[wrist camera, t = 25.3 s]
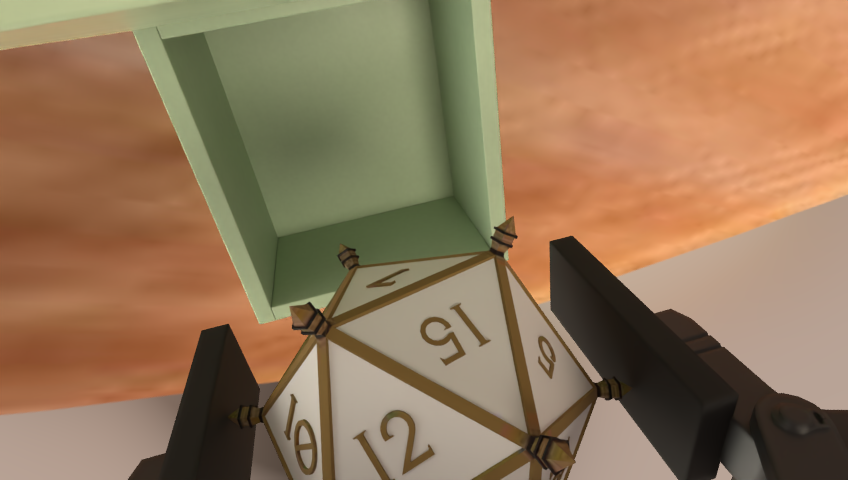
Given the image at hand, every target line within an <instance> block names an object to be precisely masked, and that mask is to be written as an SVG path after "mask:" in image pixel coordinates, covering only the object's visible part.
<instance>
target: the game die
mask: <svg viewBox="0 0 848 480" xmlns="http://www.w3.org/2000/svg"><path fill="white" fill-rule="evenodd" d="M494 229H495V232H494V235H493V236H491V237H490V239H492V244H491V248H490V249H489V250H488V251H480V252H471V253H463V254H454V255H446V256H437V257H429V258H420V259H412V260H403V261H395V262H386V263H377V264H369V265H359V262H358V259H359V255H356V253H355V251H356V249H353V248H349V247H347V246H345V245H343V244H341V243H340V248H339V254H338V255H337V257H338V258H339V260H340V262H341V261H342V262H341V263H342V265H343V267H344V268H347V269H348V270H349V272H348V273H347V275H346V276H345V278H344V280H343V281H342V283H341V284H340V286H339V288H338V289H337V291H336V292H335V294H334V296H333V297H332V299H331V300H330V302H329V304H328V305H327V307H326V308H325V310H324V312H323V313H321V311H320V310H319V309H318V308H317V309H316V308H315V307H314V306H313V305H312V303H311V302H310V301H309V302H308V303H306V304H304V305H295V306H289V308H290V312H291V316H292V321H293V324H292V329H293V330H301V334H302V335H308V337H307V339H306V340H305V342H304V343H303V345H302V347H301V348H300V350H299V351H298V353H297V354H296V356H295V358H294V359H293V361H292V362H291V364H290V366H289V367H288V369H287V370H286V372H285V374H284V375H283V377H282V378H281V380H280V382H279V383H278V385H277V386H276V388H275V390H274V391H273V393H272V394H271V396H270V398H269V399H268V401H267V402H266V404H265V405H264V407H262V408H257V406H255V405H249V407H248V406H245V405H240V408H238V409H237V410H236V411H234V412H233V413H232V414H230V415H229V416H228V418H229V419H230V420H232V421H233V422H235V423H236V424H238V425H239V426H240V428H241V429H243V428H244V426H250V428H253V426H254V425H255V424H257V423H260V422H262V423H264V425H265V427H266V429H267V431H268V433H269V436H270V438H271V441H272V443H273V445H274V447H275V449H276V452H277V454H278V456H279V459H280V461H281V463H282V466H283V468H284V470H285V472H286V475H287V477H288V479H289V480H567V478H568V476H569V473H570V470H571V468H572V465H573V464H574V463H575V460H574V459H575V457H576V454H577V451H578V449H579V446H580V443H581V440H582V438H583V435H584V432H585V429H586V427H587V424H588V421H589V419H590V416H591V413H592V410H593V408H594V405H595V403H596V400H597V397H601V398H605V400H611V399H612V398H615V400H620V399H622V396H623V395H625V394H626V393H627V392H629V391H630V390H631V389H632V387H630V386H628V385H626V384H624V383H622V382H621V381H619V380H617V379H616V377H615V376H614V377H612V379H608V380H607V379H606V378H603V381H600V382H598V383H594V382H592V380H591V379H590V377H589V376H588V375H587V373H586V372H585V370H584V369H583V368H582V366H581V365H580V363H579V362H578V361H577V359H576V358H575V356H574V355H573V354H572V352H571V351H570V349H569V348H568V346H567V345H566V344H565V342H564V341H563V339H562V338H561V337H560V335H559V334H558V333H557V331H556V330H555V328H554V327H553V325H552V324H551V323H550V321H549V320H548V318H547V317H546V316H545V314H544V313H543V311H542V310H541V309H540V307H539V306H538V304H537V303H536V302H535V300H534V299H533V297H532V296H531V295H530V293H529V292H528V290H527V289H526V288H525V286H524V285H523V283H522V282H521V280H520V279H519V278H518V276H517V275H516V273H515V272H514V271H513V269H512V268H511V266H510V265H509V264H508V262H507V261H506V259H505V258H504V253H505V252H506V251H507V250H508V249H509V248H512V247H513V245H512V242H513V240H514V238H516V239H517V237H518V236H517V235H516V234H515V225H514V216H513V217H511V218H510V219H508V220H507V221H505V222H504V223H502V224H501V225H499V226H498V227H495V226H494Z"/></svg>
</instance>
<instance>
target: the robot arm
mask: <svg viewBox="0 0 848 480" xmlns="http://www.w3.org/2000/svg"><path fill="white" fill-rule="evenodd" d="M550 299H551V311H552V312H553V313H554V314H555V316H556V317H557V318H558V320H559V321H560V323H561V324H562V325H563V327H564V328H565V329H566V331H567V332H568V333H569V334H570V336H571V337H572V338H573V340H574V341H575V342H576V344H577V345H578V346H579V348H580V349H581V350H582V352H583V353H584V355H585V356H586V357H587V358H588V360H589V361H590V363H591V364H592V365H593V366H594V368H595V369H596V371H597V372H598V373H599V374H600V376H601V377H602V379H603V378H606V379H607V380H608V379H612V377H614V376H615V377H616V379H617V380H619V381H621V382H622V383H624V384H626V385H628V386H630V387H632V389H631V390H630V391H629V392H627V393H626V394H625V395H623V396H622V399H620V400H619V401H620V403H621V404H622V405H623V407H624V408H625V409H626V411H627V412H628V413H629V415H630V416H631V417H632V418H633V420H634V421H635V423H636V424H637V425H638V427H639V428H640V429H641V430H642V432H643V433H644V435H645V436H646V437H647V439H648V440H649V441H650V443H651V444H652V445H653V447H654V448H655V449H656V450H657V452H658V453H659V455H660V456H661V457H662V459H663V460H664V461H665V462H666V464H667V465H668V467H669V468H670V469H671V471H672V472H673V473H674V475H675V476H676V477H677V479H678V480H711V479H714V478H716V475H717V471H718V468H719V464H720V462H721V463H722V464H723V465H724V466H725V468H726V469H727V470H728V471H729V472H730V473H731V474H732V476H733V477H732V479H731V480H848V410H823V409H820V408H819V407H817V406H816V405H815V404H813V403H811V402H809V401H807V400H805V399H802V398H800V397H798V396H793V395H789V394H784V393H777V392H776V391H774V390H773V389H772V388H770V387H769V386H768V385H767V384H766V383H765V382H763V381H762V380H761V379H760V378H759V377H758V376H757V375H755V374H754V373H753V372H752V371H751V370H750V369H749V368H747V367H746V366H745V365H744V364H743V363H742V362H741V361H739V360H738V359H737V358H736V357H735V356H734V355H733V354H731V353H730V352H729V351H728V350H727V349H725V347H721V345H720V343H719V342H718V341H716V340H715V339H714V338H713V337H712V336H709V335H708V333H707V332H706V331H705V330H704V329H703V328H702V327H700V326H699V325H698V324H697V323H696V322H695V321H694V320H692V319H691V318H689V317H687V316H685V315H683V314H681V313H678V312H676V311H674V310H672V309H669V310H665V311H662V312H658V313H655V314H654V313H653V312H652V311H651V310H650V309H649V308H648V307H647V306H646V305H644V303H643V302H642V301H640V300H639V299H638V298H637V297H636V296H635V295H634V294H633V293H632V292H631V291H630V290H629V289H628V288H627V287H626V286H624V285H623V283H621V281H619V280H618V279H617V278H616V277H615V276H614V275H613V274H612V273H611V272H610V271H609V270H608V269H607V268H606V267H605V266H604V265H603V264H602V263H601V262H599V261H598V260H597V259H596V258H595V257H594V256H593V255H592V254H591V253H590V252H589V251H588V250H587V249H586V248H585V247H584V246H583V245H582V244H581V243H579V242H578V241H577V240H576V239H575V238H574V237H573V236H569V237H565V238H561V239H557V240H553V241H550ZM259 392H260V388H259V386H258V384H257V382H256V380H255V378H254V376H253V374H252V372H251V370H250V367H249V365H248V363H247V361H246V359H245V357H244V355H243V353H242V351H241V349H240V347H239V344H238V342H237V340H236V338H235V336H234V334H233V332H232V330H231V328H230V326H229V324H225V325H222V326H218V327H214V328H210V329H206V330H202V331H201V334H200V338H199V341H198V345H197V348H196V352H195V355H194V358H193V362H192V365H191V369H190V372H189V375H188V379H187V382H186V386H185V389H184V393H183V396H182V399H181V403H180V406H179V410H178V413H177V416H176V420H175V423H174V427H173V430H172V434H171V437H170V441H169V444H168V448H167V451H166V453H165V454H161V455H158V456H154V457H150V458H147V459H143V460H142V461H141V462H140V463H139V465H138V466H137V467H136V469H135V470H134V472H133V473H132V474H131V476H130V477H129V479H128V480H250V475H251V466H252V457H253V448H254V447H253V446H254V439H255V430H256V424H255V425H254V426H253V428H250V426H244V428H243V429H241V428H240V426H239V425H238V424H236V423H235V422H233V421H232V420H230V419H229V418H228V416H229V415H230V414H232V413H233V412H234V411H236V410H237V409H238V408H240V405H245V406H248V407H249V405H255V406H257V408H258V402H259Z"/></svg>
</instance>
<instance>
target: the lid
mask: <svg viewBox="0 0 848 480" xmlns="http://www.w3.org/2000/svg"><path fill="white" fill-rule="evenodd" d="M295 1H300V0H0V50H5V49H12V48H18V47H25V46H32V45H39V44H46V43H53V42H60V41H67V40H73V39H80V38H87V37H94V36H101V35H108V34H115V33H122V32H128V31H134V30H140V29H145V28H151V27H156V26H162V25H167V24H173V23H178V22H184V21H189V20H195V19H200V18H206V17H212V16H217V15H223V14H228V13H234V12H239V11H245V10H250V9H256V8H261V7H267V6H272V5H278V4H283V3H289V2H295Z"/></svg>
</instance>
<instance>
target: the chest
mask: <svg viewBox="0 0 848 480" xmlns="http://www.w3.org/2000/svg"><path fill="white" fill-rule="evenodd" d="M133 34H134V36H135V38H136V41H137V43H138V45H139V48H140V50H141V52H142V55H143V57H144V59H145V61H146V64H147V66H148V68H149V71H150V73H151V75H152V78H153V80H154V82H155V85H156V87H157V89H158V91H159V94H160V96H161V98H162V101H163V103H164V105H165V108H166V110H167V112H168V114H169V117H170V119H171V121H172V124H173V126H174V128H175V131H176V133H177V135H178V138H179V140H180V142H181V144H182V147H183V149H184V151H185V154H186V156H187V158H188V161H189V163H190V165H191V167H192V170H193V172H194V174H195V177H196V179H197V181H198V184H199V186H200V188H201V191H202V193H203V195H204V197H205V200H206V202H207V204H208V207H209V209H210V211H211V214H212V216H213V218H214V221H215V223H216V225H217V227H218V230H219V232H220V234H221V237H222V239H223V241H224V244H225V246H226V248H227V250H228V253H229V255H230V257H231V260H232V262H233V264H234V267H235V269H236V271H237V274H238V276H239V278H240V280H241V283H242V285H243V287H244V290H245V292H246V294H247V297H248V299H249V301H250V303H251V306H252V308H253V310H254V313H255V315H256V317H257V320H258V322H259V324H263V323H267V322H271V321H275V320H278V319H282V318H286V317H290V316H291V312H290V308H289V306H295V305H304V304H306V303H308V302H309V301H310V302H311V303H312V305H313V306H314V307H315V308H316V309H317V308H318V309H321V308H324V307H327V305H328V304H329V302H330V300H331V299H332V297H333V296H334V294H335V292H336V291H337V289H338V288H339V286H340V284H341V283H342V281H343V280H344V278H345V276H346V275H347V273H348V272H349V270H348V269H347V268H344V267H343V265H342V263H341V262H342V261H341V262H340V260H339V258H338V257H337V255H338V254H339V248H340V243H341V244H343V245H345V246H347V247H349V248H353V249H356V251H355V253H356V255H359V259H358V262H359V265H369V264H377V263H386V262H395V261H403V260H412V259H420V258H429V257H437V256H446V255H454V254H463V253H471V252H480V251H488V250H489V249H490V248H491V244H492V239H490V237H491V236H493V235H494V232H495V229H494V226H495V227H498V226H499V225H501V224H502V223H504V222H505V221H506V216H505V201H504V187H503V172H502V158H501V144H500V129H499V115H498V100H497V86H496V72H495V57H494V43H493V28H492V14H491V0H300V1H295V2H289V3H283V4H278V5H272V6H267V7H261V8H256V9H250V10H245V11H239V12H234V13H228V14H223V15H217V16H212V17H206V18H200V19H195V20H189V21H184V22H178V23H173V24H167V25H162V26H156V27H151V28H145V29H140V30H134V31H133ZM504 258H505V259H506V261H507V260H509V259H508V250H507V251H506V252H505V253H504Z"/></svg>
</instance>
